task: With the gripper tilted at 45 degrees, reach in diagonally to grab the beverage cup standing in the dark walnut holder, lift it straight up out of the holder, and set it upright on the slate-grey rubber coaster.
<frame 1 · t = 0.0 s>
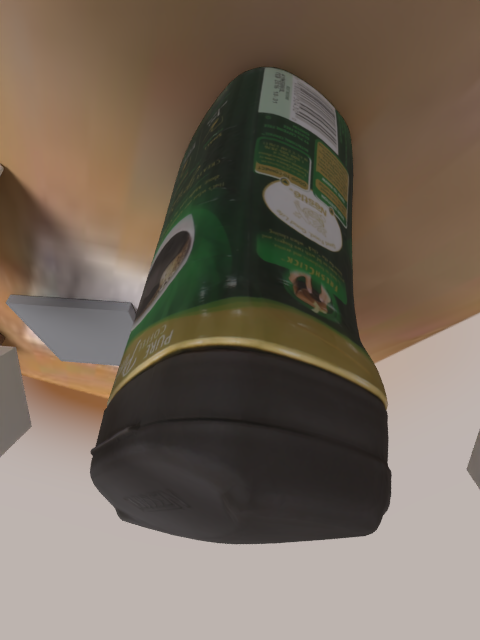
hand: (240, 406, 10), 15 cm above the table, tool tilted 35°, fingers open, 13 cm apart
coffee jar: (262, 157, 20), on the table
slate coaster: (93, 331, 39), on the table
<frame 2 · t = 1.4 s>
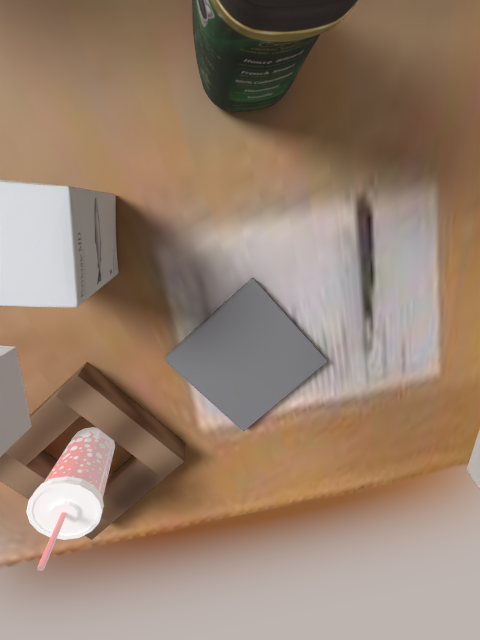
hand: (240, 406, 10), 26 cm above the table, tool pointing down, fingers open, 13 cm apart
walnut holder: (93, 445, 39), on the table
coffee jar: (242, 48, 30), on the table
beverage cup: (93, 444, 39), resting in walnut holder
slate coaster: (247, 356, 38), on the table
supplement box: (77, 232, 33), on the table
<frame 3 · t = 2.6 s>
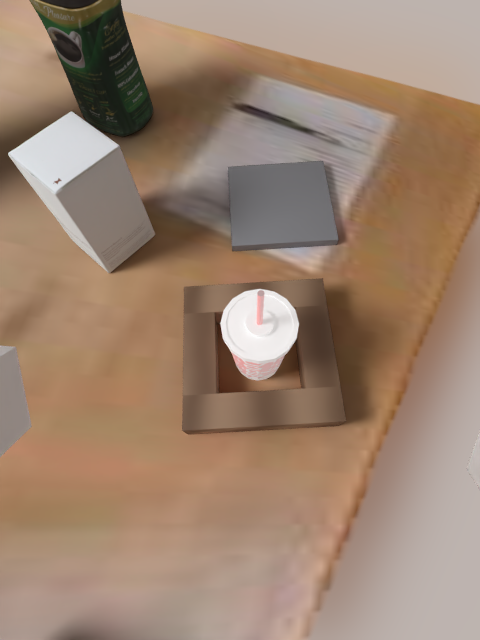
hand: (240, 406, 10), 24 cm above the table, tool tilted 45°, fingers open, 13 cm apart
walnut holder: (257, 358, 36), on the table
coffee jar: (120, 117, 51), on the table
beverage cup: (257, 358, 36), resting in walnut holder
slate coaster: (279, 206, 44), on the table
supplement box: (114, 238, 43), on the table
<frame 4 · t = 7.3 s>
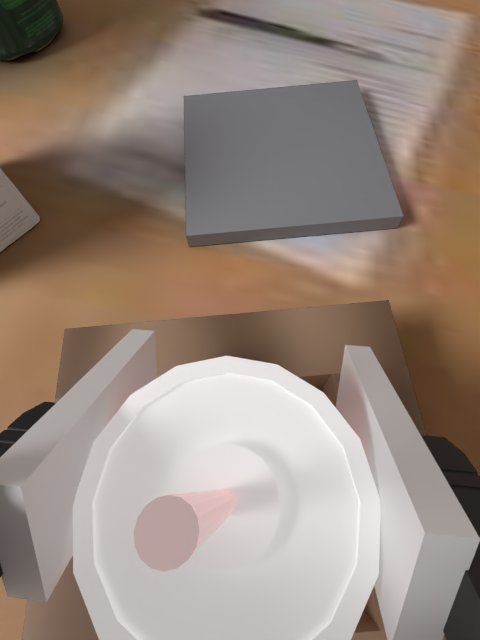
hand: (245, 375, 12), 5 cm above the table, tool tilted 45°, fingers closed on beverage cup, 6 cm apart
walnut holder: (241, 493, 15), on the table
coffee jar: (12, 37, 31), on the table
beverage cup: (242, 493, 15), resting in walnut holder, touching gripper
slate coaster: (280, 162, 23), on the table
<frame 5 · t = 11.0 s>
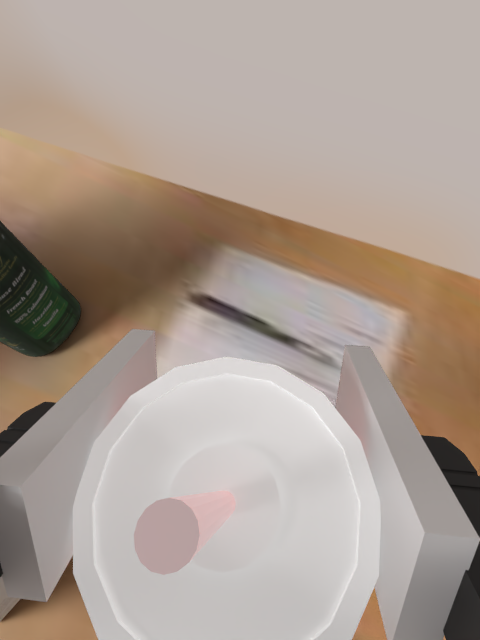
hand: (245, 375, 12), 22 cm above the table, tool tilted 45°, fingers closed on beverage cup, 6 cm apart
coffee jar: (39, 318, 39), on the table
beverage cup: (242, 493, 15), point 17 cm above the table, touching gripper
supplement box: (13, 545, 30), on the table
when the fingers open (7 cm above the table, at t = 14.6 s): beverage cup stays where it is, resting on slate coaster.
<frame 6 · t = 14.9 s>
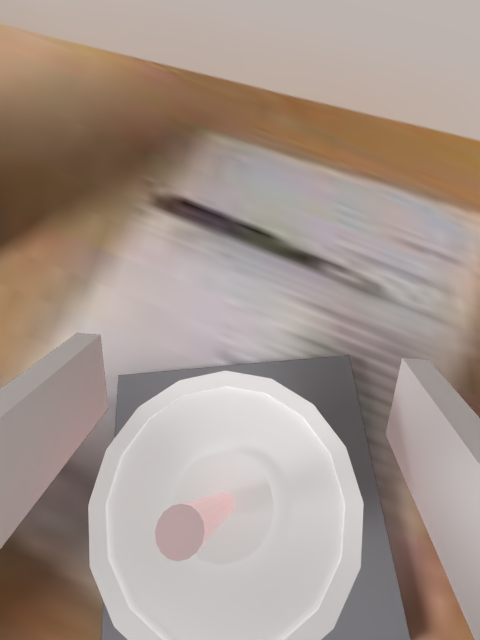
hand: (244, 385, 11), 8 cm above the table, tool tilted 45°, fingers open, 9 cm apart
beverage cup: (240, 493, 16), point 1 cm above the table, touching slate coaster
slate coaster: (243, 492, 17), on the table
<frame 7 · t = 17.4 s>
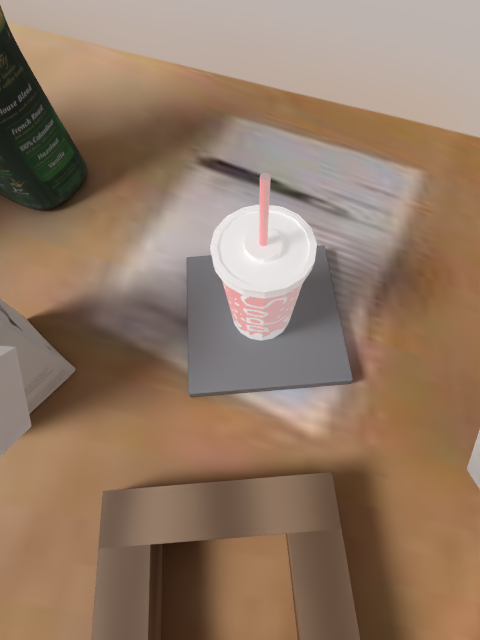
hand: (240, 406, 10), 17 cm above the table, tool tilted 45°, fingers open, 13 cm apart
walnut holder: (227, 609, 22), on the table
coffee jar: (44, 181, 38), on the table
beverage cup: (261, 314, 29), point 1 cm above the table, touching slate coaster
slate coaster: (262, 318, 30), on the table
supplement box: (16, 375, 29), on the table
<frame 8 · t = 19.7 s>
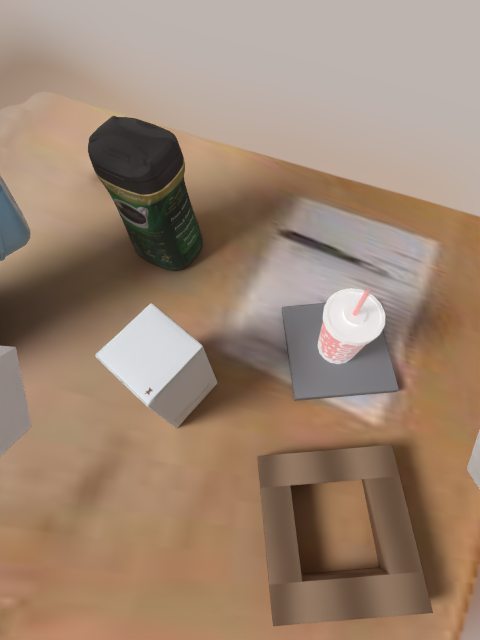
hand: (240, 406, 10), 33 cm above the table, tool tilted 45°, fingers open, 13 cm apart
walnut holder: (331, 524, 37), on the table
coffee jar: (170, 247, 53), on the table
beverage cup: (336, 346, 44), point 1 cm above the table, touching slate coaster
slate coaster: (335, 348, 45), on the table
supplement box: (177, 386, 44), on the table
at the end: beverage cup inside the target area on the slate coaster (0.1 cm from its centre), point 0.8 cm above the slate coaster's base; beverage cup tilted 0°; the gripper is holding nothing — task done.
